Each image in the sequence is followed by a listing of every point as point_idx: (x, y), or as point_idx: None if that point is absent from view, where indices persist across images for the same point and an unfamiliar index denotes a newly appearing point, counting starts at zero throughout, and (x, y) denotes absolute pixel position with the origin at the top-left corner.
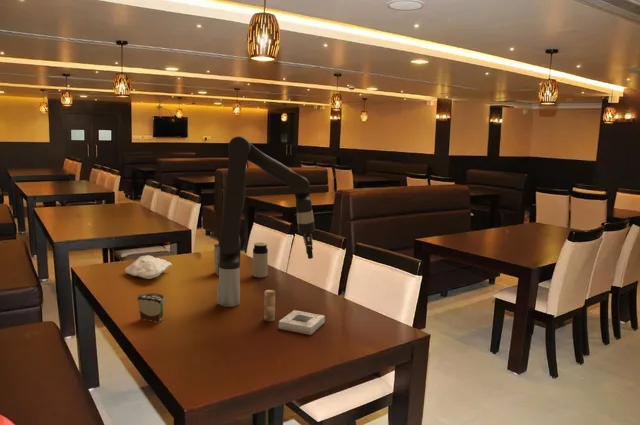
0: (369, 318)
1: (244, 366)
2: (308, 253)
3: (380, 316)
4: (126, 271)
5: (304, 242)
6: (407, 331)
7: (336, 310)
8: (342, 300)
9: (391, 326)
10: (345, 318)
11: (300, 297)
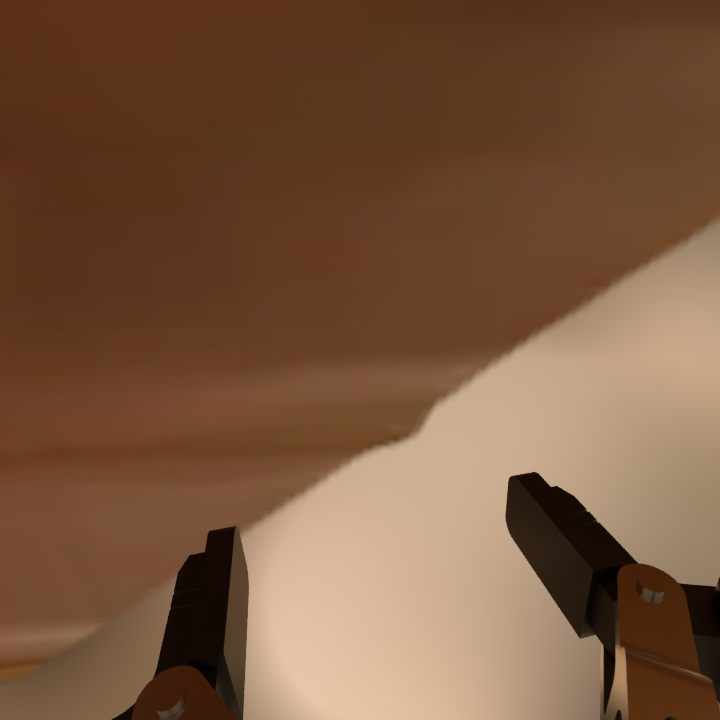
0: (127, 542)
1: None
2: (170, 629)
3: (166, 572)
4: None
5: (624, 675)
6: (20, 647)
7: (205, 418)
8: (363, 436)
9: (55, 607)
10: (91, 461)
11: (417, 213)
